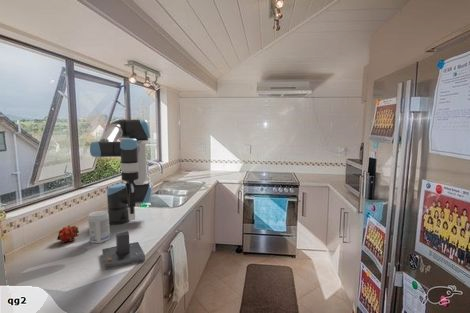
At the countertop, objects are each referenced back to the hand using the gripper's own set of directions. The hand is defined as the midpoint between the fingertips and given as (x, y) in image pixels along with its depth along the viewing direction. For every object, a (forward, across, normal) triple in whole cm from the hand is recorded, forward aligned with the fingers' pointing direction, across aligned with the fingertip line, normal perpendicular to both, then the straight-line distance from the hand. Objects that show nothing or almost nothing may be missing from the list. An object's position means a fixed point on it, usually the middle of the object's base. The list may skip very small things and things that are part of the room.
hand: (131, 219), depth 127 cm
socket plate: (+15, -6, +5) cm, 17 cm away
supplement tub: (+16, +20, +14) cm, 29 cm away
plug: (+15, -6, +5) cm, 17 cm away
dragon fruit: (+16, +27, +28) cm, 42 cm away
